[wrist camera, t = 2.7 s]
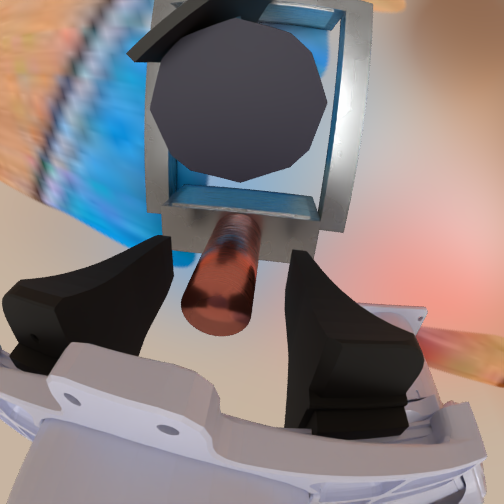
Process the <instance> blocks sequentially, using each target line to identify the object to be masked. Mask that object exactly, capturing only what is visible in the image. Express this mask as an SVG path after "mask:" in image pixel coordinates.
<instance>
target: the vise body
mask: <svg viewBox="0 0 504 504" xmlns="http://www.w3.org/2000/svg"><path fill="white" fill-rule="evenodd" d="M186 1H187V0H155V1H154V8H153V15H152V22H151V30H152V29H153V28H154V27H155V26H156V25H157V24H158V23H160V22H161V21H162V20H163V19H164V18H165V17H167V16H168V15H169V14H170V13H172V12H173V11H174V10H175V9H177V8H178V7H179V6H180V5H182V4H183V3H184V2H186ZM340 19H341V21H340V37H339V51H338V63H337V74H336V84H335V94H334V103H333V112H332V120H331V128H330V135H329V143H328V150H327V158H326V164H325V170H324V177H323V183H322V189H321V196H320V202H319V208H318V215H319V218H320V221H321V224H320V229H319V230H326V231H334V232H341V233H343V232H344V228H345V223H346V219H347V214H348V210H349V205H350V200H351V195H352V190H353V184H354V179H355V174H356V168H357V162H358V156H359V150H360V144H361V137H362V130H363V123H364V116H365V108H366V99H367V91H368V81H369V80H368V79H369V70H370V57H371V44H372V43H371V42H372V23H373V4H372V3H368V2H365V1H361V0H273V1H272V2H271V3H269V4H268V6H267V7H266V9H265V10H264V12H263V13H262V15H261V16H260V18H259V19H258V20H259V21H258V22H268V23H280V24H290V25H299V26H306V27H313V28H319V29H325V30H330V31H331V30H332V29H333V28H334V26H335V25H336V24H337V22H338V21H339V20H340ZM159 67H160V63H156V62H147V75H146V93H145V183H146V203H147V213H159V214H161V205H163V204H164V203H165V202H166V201H167V200H168V199H169V198H170V197H171V196H172V195H173V194H174V193H175V192H176V191H177V159H175V158H174V157H173V156H172V155H171V154H170V152H169V150H168V148H167V146H166V144H165V142H164V140H163V137H162V135H161V133H160V131H159V129H158V127H157V124H156V122H155V120H154V118H153V116H152V114H151V111H150V105H151V101H152V96H153V92H154V87H155V83H156V79H157V75H158V71H159Z"/></svg>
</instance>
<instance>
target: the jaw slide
mask: <svg viewBox="0 0 504 504" xmlns="http://www.w3.org/2000/svg"><path fill="white" fill-rule="evenodd" d="M161 215H162V233H163V236H171V242H172V250H176V251H184V252H193V253H202V255H201V257H200V259H199V262H198V264H197V266H196V268H195V270H194V272H193V275H192V277H191V279H190V281H189V283H188V285H187V288H186V290H185V292H184V294H183V297H182V299H181V308H182V312H183V314H184V316H185V318H186V320H188V322H189V323H190V324H191V325H192V326H193V327H195V328H196V329H198V330H200V331H202V332H204V333H207V334H209V335H214V336H230V335H234V334H236V333H239V332H240V331H242V330H243V329H244V328H245V327H246V326H247V325H248V323H249V321H250V319H251V313H252V306H253V299H254V291H255V283H256V275H257V268H258V260H266V261H275V262H283V263H290V259H291V253H292V249H294V250H303V251H307V252H308V253H309V254H310V256H311V257H312V258H313V259H314V254H315V249H316V244H317V239H318V234H319V229H320V224H321V221H320V218H319V215H318V212H317V209H316V206H315V203H314V201H313V197H311V196H304V195H295V194H287V193H278V192H269V191H259V190H250V189H239V188H228V187H215V186H202V185H187V184H184V185H183V186H182V187H181V188H180V189H178V190H177V191H176V192H175V193H174V194H173V195H172V196H171V197H170V198H169V199H168V200H167V201H166V202H165V203H164V204H163V205H161Z"/></svg>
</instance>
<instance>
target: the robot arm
mask: <svg viewBox="0 0 504 504" xmlns="http://www.w3.org/2000/svg"><path fill="white" fill-rule="evenodd" d="M173 277H174V272H173V258H172V242H171V236H163V235H157V236H154V237H152V238H150V239H147V240H145V241H143V242H141V243H140V244H138V245H136V246H134V247H132V248H130V249H128V250H126V251H124V252H122V253H120V254H117V255H115V256H113V257H112V258H109V259H107V260H104V261H102V262H100V263H97V264H94V265H91V266H89V267H86V268H82V269H79V270H76V271H72V272H69V273H65V274H60V275H56V276H50V277H44V278H35V279H24V280H20V281H18V282H17V283H16V284H15V285H14V286H13V287H12V288H11V289H10V290H9V291H8V292H7V293H6V294H5V295H4V297H3V299H2V306H3V311H4V314H5V317H6V319H7V321H8V323H9V325H10V327H11V329H12V331H13V333H14V335H15V337H16V339H17V341H18V342H19V343H18V345H17V346H16V347H15V349H14V350H13V351H12V353H11V354H9V353H7V352H5V351H4V350H2V348H1V346H0V419H1V420H2V421H4V422H5V423H6V424H8V425H9V426H10V427H11V428H13V429H14V430H16V431H17V432H18V433H20V434H21V435H23V436H24V437H25V438H27V439H28V440H30V441H32V444H31V447H30V449H29V451H28V453H27V455H26V457H25V459H24V462H23V464H22V466H21V469H20V471H19V473H18V475H17V478H16V480H15V483H14V485H13V488H12V490H11V493H10V495H9V498H8V501H7V503H6V504H483V502H484V496H485V495H486V482H485V476H484V473H483V472H484V469H483V464H482V462H483V461H484V460H485V459H486V458H487V454H486V450H485V447H484V444H483V441H482V438H481V435H480V432H479V429H478V426H477V423H476V420H475V418H474V415H473V412H472V409H471V407H470V404H469V402H463V403H454V402H453V401H452V400H451V401H449V402H447V403H445V404H444V405H443V403H442V402H441V400H440V397H439V394H438V391H437V389H436V386H435V383H434V380H433V378H432V375H431V373H430V370H429V368H428V365H427V363H426V360H425V358H424V355H423V353H422V350H421V348H420V346H419V343H418V341H417V339H416V337H415V336H416V334H417V332H418V331H419V329H420V327H421V325H422V323H423V321H424V319H425V317H426V315H427V312H428V311H427V309H426V307H419V306H400V305H399V306H398V305H383V304H367V303H356V302H355V301H353V300H352V299H351V298H350V297H349V296H347V295H346V294H345V293H344V292H342V291H341V290H340V289H339V288H338V287H337V286H336V285H335V284H334V283H333V282H332V281H331V280H330V279H329V277H327V275H326V274H325V273H324V272H323V271H322V269H320V267H319V266H318V265H317V263H316V262H315V261H314V260H313V258H312V257H311V256H310V254H309V253H308V252H307V251H303V250H294V249H292V253H291V259H290V265H289V272H288V278H287V283H286V289H285V319H286V329H287V342H288V354H289V355H288V357H289V361H288V362H289V363H288V384H287V385H288V386H287V401H286V414H285V425H284V428H278V427H271V426H266V425H263V424H258V423H255V422H251V421H247V420H244V419H240V418H237V417H233V416H230V415H226V414H223V413H221V411H220V397H219V395H218V393H217V391H216V389H215V387H214V385H213V384H212V383H211V382H209V381H208V380H206V379H205V378H204V377H202V376H201V375H199V374H198V373H197V372H195V371H192V370H190V369H187V368H184V367H181V366H178V365H175V364H170V363H165V362H160V361H156V360H151V359H147V358H142V357H138V356H139V353H140V350H141V347H142V345H143V341H144V339H145V337H146V334H147V332H148V330H149V328H150V326H151V324H152V322H153V320H154V319H155V317H156V315H157V313H158V311H159V309H160V307H161V305H162V304H163V302H164V300H165V298H166V296H167V294H168V291H169V289H170V286H171V283H172V280H173ZM420 316H421V317H420ZM419 317H420V318H419Z"/></svg>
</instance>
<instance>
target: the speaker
mask: <svg viewBox="0 0 504 504" xmlns="http://www.w3.org/2000/svg"><path fill="white" fill-rule="evenodd" d="M272 1H273V0H187V1H186V2H184V3H183V4H182V5H180V6H179V7H178V8H177V9H175V10H174V11H173V12H172V13H170V14H169V15H168V16H167V17H165V18H164V19H163V20H162V21H161V22H160V23H158V24H157V25H156V26H155V27H154V28H153V29H152V30H150V31H149V32H148V33H147V34H146V35H145V36H144V37H143V38H142V39H141V40H140V41H138V42H137V43H136V44H135V45H134V46H133V47H132V48H131V49H130V50H129V51H128V52H127V53H126V54H127V55H128V56H129V57H130V58H131V59H132V60H133V61H134V62H156V63H160V67H159V71H158V75H157V79H156V83H155V87H154V92H153V96H152V101H151V105H150V111H151V114H152V116H153V118H154V120H155V122H156V124H157V127H158V129H159V131H160V133H161V135H162V137H163V140H164V142H165V144H166V146H167V148H168V150H169V152H170V154H171V155H172V156H173V157H174V158H175V159H177V160H178V161H179V162H181V163H182V164H183V165H184V166H186V167H187V168H188V169H189V170H191V171H195V172H199V173H204V174H208V175H212V176H216V177H220V178H224V179H228V180H232V181H236V182H240V183H241V182H244V181H247V180H250V179H253V178H256V177H260V176H263V175H266V174H269V173H272V172H275V171H279V170H282V169H285V168H289V167H291V166H292V165H293V164H294V163H295V162H296V161H297V160H298V159H299V158H301V156H303V155H304V154H305V153H306V152H307V151H308V150H309V149H310V146H311V144H312V141H313V139H314V136H315V134H316V131H317V128H318V126H319V123H320V121H321V118H322V115H323V113H324V110H325V108H326V105H327V99H326V96H325V93H324V89H323V86H322V83H321V79H320V76H319V73H318V70H317V67H316V64H315V61H314V58H313V55H312V53H311V52H310V51H309V50H308V49H307V48H306V47H305V46H304V45H303V44H302V43H301V42H300V41H299V40H298V39H297V38H296V37H295V36H294V35H292V34H291V33H289V32H286V31H282V30H279V29H276V28H273V27H269V26H266V25H262V24H258V23H257V22H258V21H259V20H258V19H259V18H260V16H261V15H262V13H263V12H264V10H265V9H266V7H267V6H268V4H269V3H271V2H272Z"/></svg>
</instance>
